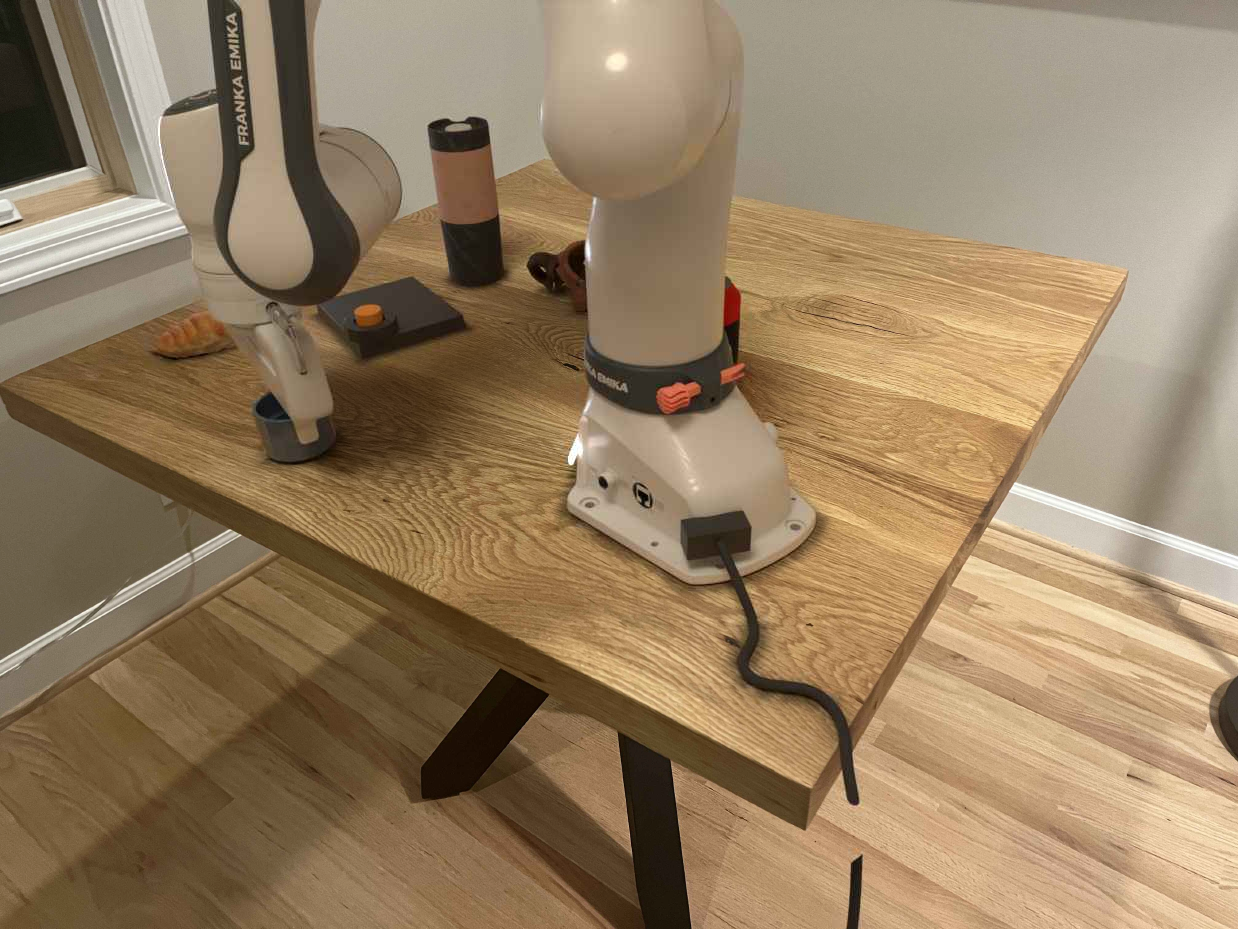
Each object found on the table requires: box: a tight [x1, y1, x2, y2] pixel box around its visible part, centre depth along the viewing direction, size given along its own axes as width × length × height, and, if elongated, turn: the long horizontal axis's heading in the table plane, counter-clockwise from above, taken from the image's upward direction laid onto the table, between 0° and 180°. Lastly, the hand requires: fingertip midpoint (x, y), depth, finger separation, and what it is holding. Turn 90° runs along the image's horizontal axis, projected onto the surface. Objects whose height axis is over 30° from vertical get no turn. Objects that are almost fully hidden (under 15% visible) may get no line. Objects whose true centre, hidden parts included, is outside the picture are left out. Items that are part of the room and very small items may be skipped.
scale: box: [316, 275, 466, 361], centre depth 110 cm, size 16×13×4 cm
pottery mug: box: [526, 239, 588, 313], centre depth 114 cm, size 12×10×8 cm
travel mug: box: [427, 116, 504, 288], centre depth 116 cm, size 8×8×20 cm
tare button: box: [354, 305, 383, 326], centre depth 104 cm, size 3×3×2 cm
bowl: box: [250, 391, 337, 463], centre depth 87 cm, size 7×7×5 cm
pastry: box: [155, 310, 236, 360], centre depth 106 cm, size 9×7×4 cm
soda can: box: [723, 275, 742, 386], centre depth 92 cm, size 8×8×12 cm
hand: (294, 420), depth 87 cm, fingers closed on bowl, 7 cm apart
